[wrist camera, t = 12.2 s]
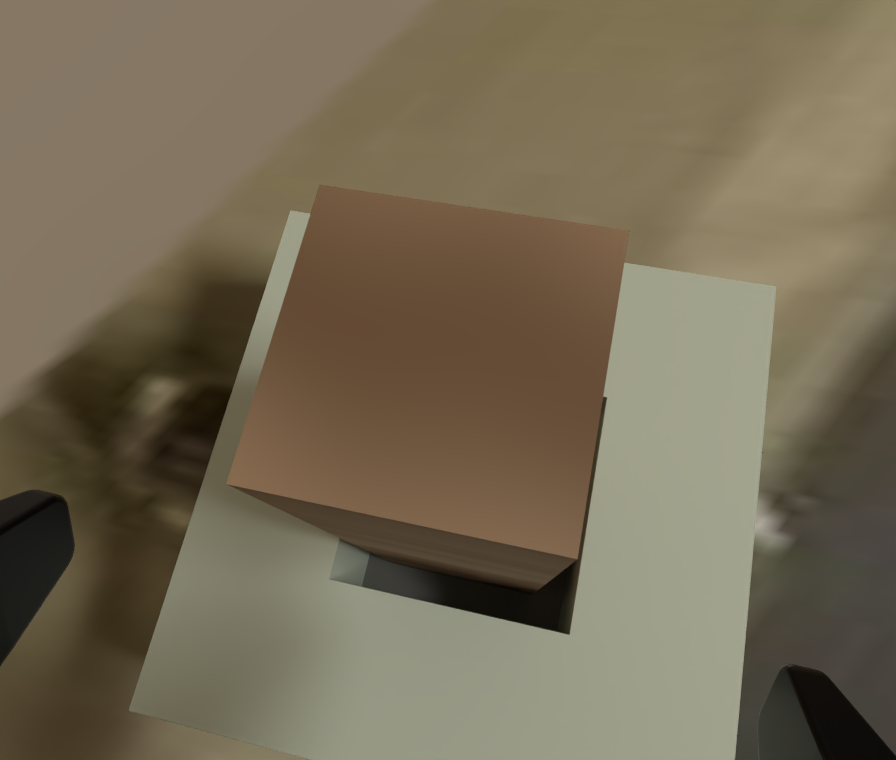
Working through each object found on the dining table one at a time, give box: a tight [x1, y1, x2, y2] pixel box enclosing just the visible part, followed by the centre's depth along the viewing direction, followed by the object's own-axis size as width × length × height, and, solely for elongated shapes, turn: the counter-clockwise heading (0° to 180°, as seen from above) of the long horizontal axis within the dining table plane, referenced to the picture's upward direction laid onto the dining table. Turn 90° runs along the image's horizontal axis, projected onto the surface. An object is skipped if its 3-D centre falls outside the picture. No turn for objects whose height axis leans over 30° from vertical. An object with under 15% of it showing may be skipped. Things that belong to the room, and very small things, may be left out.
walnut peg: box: [226, 185, 629, 595], centre depth 15 cm, size 4×4×13 cm
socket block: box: [129, 211, 776, 760], centre depth 19 cm, size 13×13×5 cm
